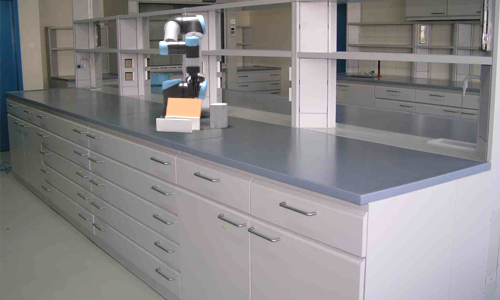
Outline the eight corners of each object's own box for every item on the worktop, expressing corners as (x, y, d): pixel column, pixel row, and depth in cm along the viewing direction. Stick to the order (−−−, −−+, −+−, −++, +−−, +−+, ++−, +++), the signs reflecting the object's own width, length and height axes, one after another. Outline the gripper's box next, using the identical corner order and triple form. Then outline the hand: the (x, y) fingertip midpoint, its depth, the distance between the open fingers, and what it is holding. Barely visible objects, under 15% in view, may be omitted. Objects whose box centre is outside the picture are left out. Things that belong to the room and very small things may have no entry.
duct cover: (165, 116, 292) (166, 116, 293) (199, 117, 285) (200, 118, 286) (168, 97, 294) (169, 98, 295) (201, 98, 286) (202, 99, 287)
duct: (166, 128, 294) (165, 116, 292) (199, 129, 286) (199, 117, 285) (156, 131, 284) (156, 118, 283) (191, 132, 277) (190, 120, 276)
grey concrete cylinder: (216, 128, 290) (215, 105, 288) (206, 126, 298) (206, 103, 295) (231, 126, 295) (230, 104, 293) (221, 124, 303) (220, 102, 301)
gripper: (192, 65, 304) (193, 107, 308) (181, 66, 292) (182, 110, 296) (204, 65, 301) (205, 108, 305) (193, 66, 289) (195, 110, 294)
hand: (194, 109), depth 301 cm, fingers closed
